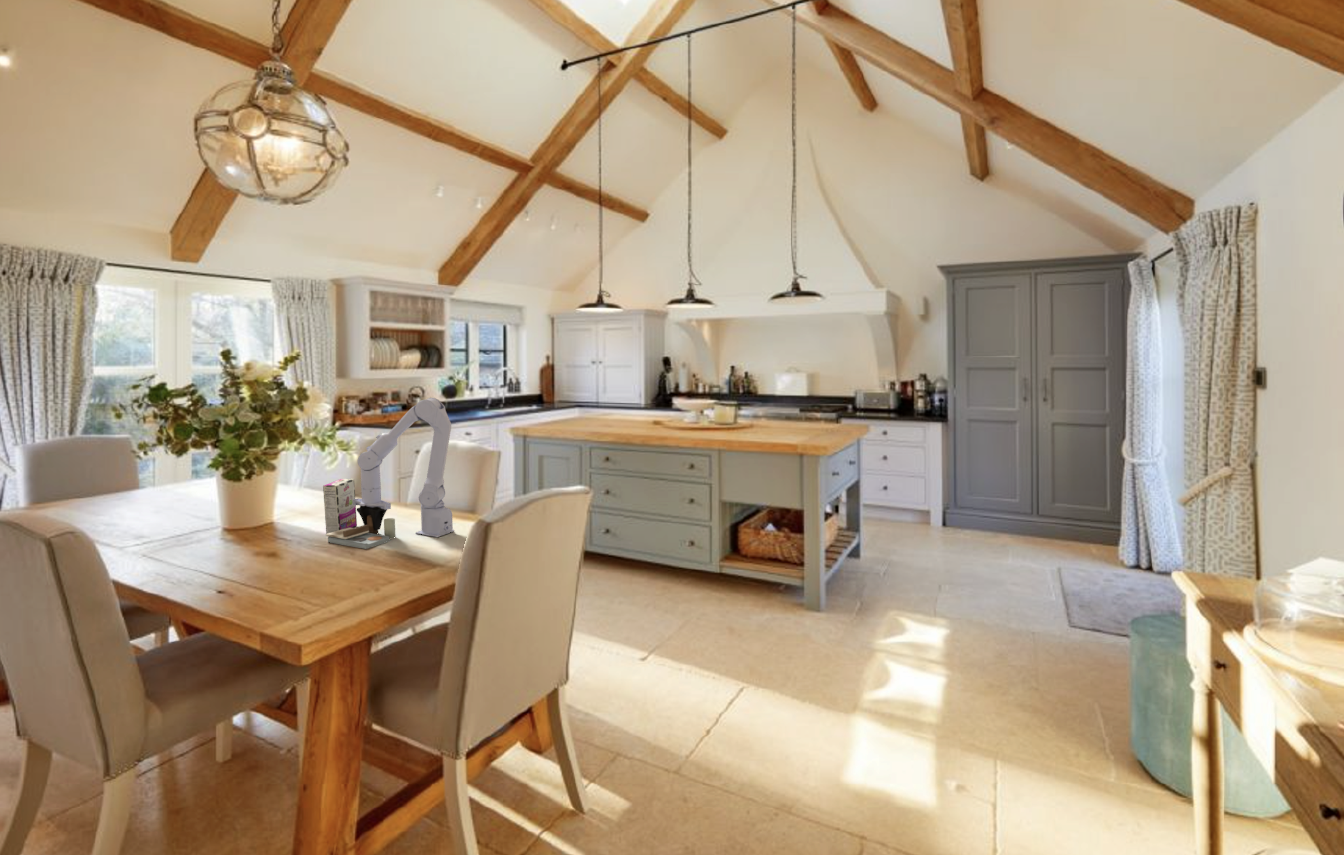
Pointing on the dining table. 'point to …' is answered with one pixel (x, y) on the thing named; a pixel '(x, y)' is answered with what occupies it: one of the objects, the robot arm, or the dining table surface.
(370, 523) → the walnut peg
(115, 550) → the dining table surface
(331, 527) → the candy bar box
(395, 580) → the dining table surface
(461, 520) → the dining table surface
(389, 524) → the sage peg
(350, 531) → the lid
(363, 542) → the board
